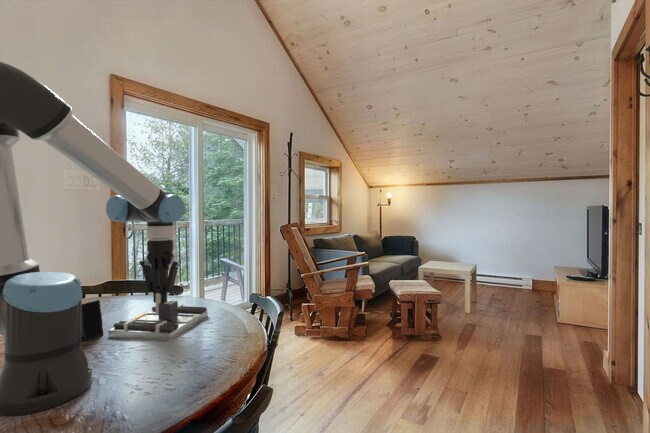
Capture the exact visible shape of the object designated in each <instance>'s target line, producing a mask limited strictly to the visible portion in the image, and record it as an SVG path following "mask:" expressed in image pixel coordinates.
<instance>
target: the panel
mask: <svg viewBox="0 0 650 433" xmlns="http://www.w3.org/2000/svg"><path fill="white" fill-rule="evenodd" d="M208 311H209V310H208V309H207V310H206V311H204V312H203V313H190V312H178V316H177V317H176V318H174V319H172V320H159V314H156V311H152V310H150V311H148V312H146V313H142V314H140V315H137V316H134V317H132V318H131V319H130V320H129V321H131V320H133V319H136V322H151V323H161V322H163V321H167V323H170V324H178V328H177V329H175V330H174V331H161V330H160V331H159V332H156V330H143V329H127V330H124V328H114V327H112V328H110V329H109V330H108V331H107V333H108V334H107V335H108V338H117V339H119V338H120V339H132V340H133V339H134V340H136V339H137V340H152V341H166V342H167V341H168V342H170V341H172V340H173V339H175V338H176V337H178V336H180V334H183V333H184V332H185V331H187V330H188V329H190V328H191V327H193V326H195V325H196V324H198V323H199V322H201V321H203V320H204V319H206V318H207V317H208V316H209V314H208V313H209V312H208Z"/></svg>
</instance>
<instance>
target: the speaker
mask: <svg viewBox="0 0 650 433" xmlns="http://www.w3.org/2000/svg"><path fill="white" fill-rule="evenodd" d="M100 301H101V300H100V299H97V300H92V301H91V302H90V301H89V302H85V303H81V338H83V341H84V342H88V341H90V340H94V339H96V338H99V337H102V336H103V335H104V329H103V328H104V327H103V315H102V311H101V302H100Z"/></svg>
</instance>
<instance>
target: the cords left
mask: <svg viewBox="0 0 650 433" xmlns="http://www.w3.org/2000/svg"><path fill="white" fill-rule="evenodd" d="M132 319H133V318H132ZM130 320H131V319H130ZM130 320H128V321H127V320H119V321H118V322H114V324H113V328H124V330H127V329H143V330H156V332H159V331H160V330H161V331H174V330H175V329H177V328H178V324H170V323H167V321H163V322H161V323H151V322H136V319H133V320H131V321H130Z"/></svg>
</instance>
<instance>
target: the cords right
mask: <svg viewBox="0 0 650 433" xmlns="http://www.w3.org/2000/svg"><path fill="white" fill-rule="evenodd" d="M206 310H208V308H207V307H205V306H187V305H184V304H183V303H180V304H178V312H190V313H203V312H204V311H206ZM151 311H156V305H155V306H152V307H151Z"/></svg>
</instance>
